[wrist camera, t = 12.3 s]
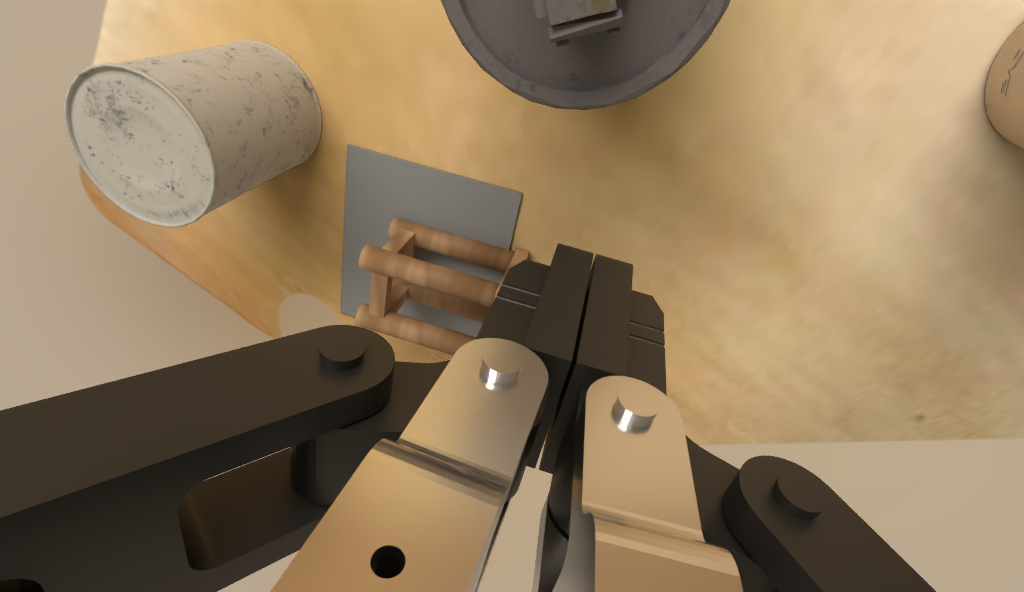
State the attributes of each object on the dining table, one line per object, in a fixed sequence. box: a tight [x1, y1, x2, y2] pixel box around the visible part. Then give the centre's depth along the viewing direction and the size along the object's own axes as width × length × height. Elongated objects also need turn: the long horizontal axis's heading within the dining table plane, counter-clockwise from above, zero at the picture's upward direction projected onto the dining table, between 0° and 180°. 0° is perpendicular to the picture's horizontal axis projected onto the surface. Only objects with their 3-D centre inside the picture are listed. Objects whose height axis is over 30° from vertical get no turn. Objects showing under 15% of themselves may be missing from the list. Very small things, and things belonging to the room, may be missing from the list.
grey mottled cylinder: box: [64, 40, 322, 227], centre depth 37 cm, size 10×10×12 cm
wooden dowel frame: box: [355, 217, 529, 355], centre depth 43 cm, size 7×7×11 cm
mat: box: [341, 144, 522, 337], centre depth 46 cm, size 14×16×1 cm
